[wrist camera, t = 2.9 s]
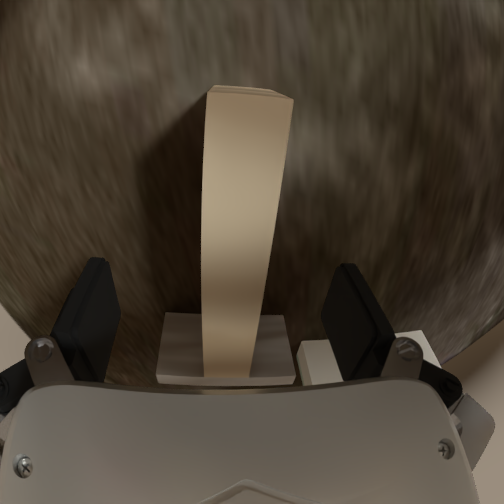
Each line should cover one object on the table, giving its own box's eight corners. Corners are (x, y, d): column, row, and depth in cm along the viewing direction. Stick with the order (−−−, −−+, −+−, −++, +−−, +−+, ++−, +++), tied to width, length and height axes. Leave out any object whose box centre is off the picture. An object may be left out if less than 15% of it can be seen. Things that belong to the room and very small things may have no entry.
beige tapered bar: (153, 85, 11) (115, 94, 7) (327, 98, 12) (375, 115, 8) (166, 321, 20) (158, 383, 16) (280, 324, 21) (292, 384, 17)
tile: (420, 329, 23) (456, 399, 17) (411, 343, 25) (443, 410, 18) (301, 340, 22) (323, 434, 15) (296, 355, 23) (315, 443, 17)
